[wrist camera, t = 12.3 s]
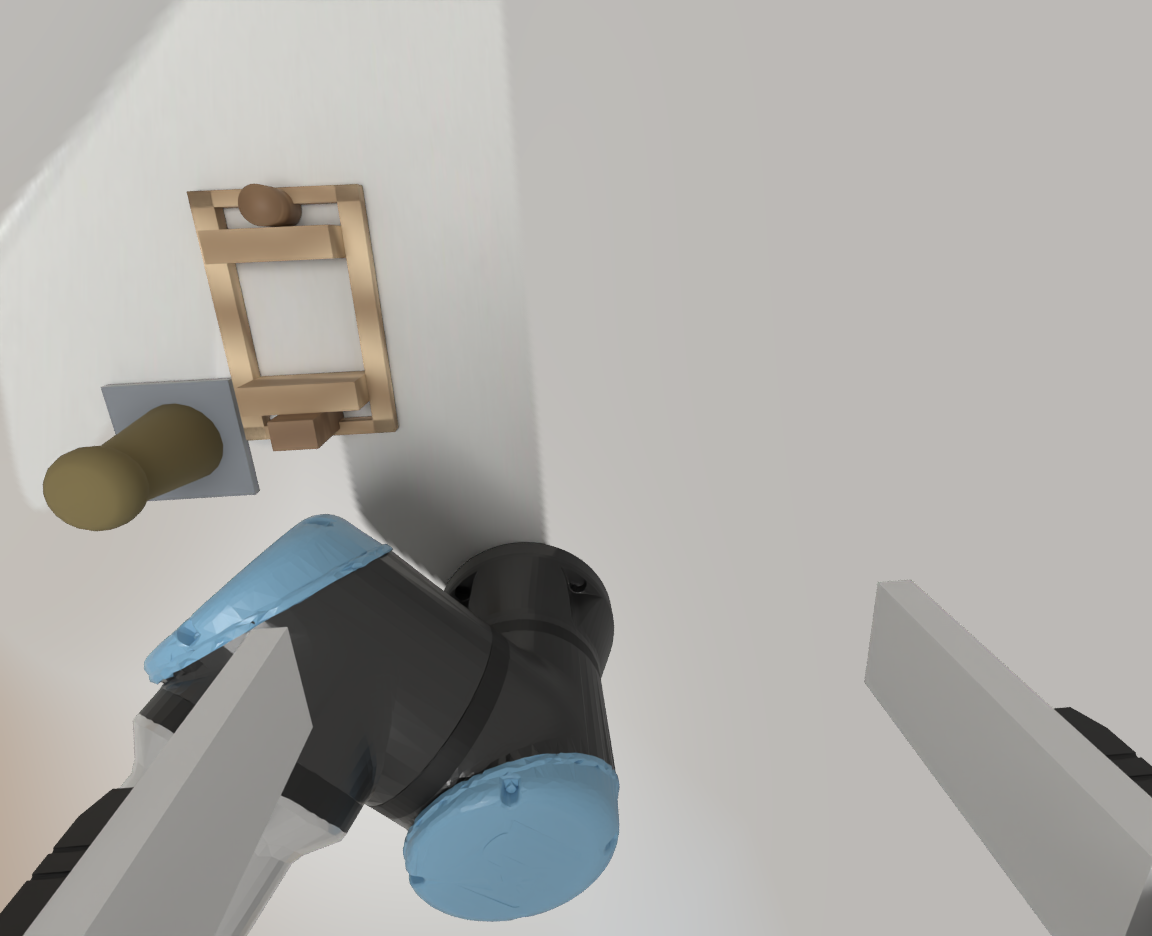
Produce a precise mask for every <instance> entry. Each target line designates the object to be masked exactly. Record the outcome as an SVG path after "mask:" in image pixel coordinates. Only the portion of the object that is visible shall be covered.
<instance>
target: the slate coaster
mask: <svg viewBox="0 0 1152 936" xmlns="http://www.w3.org/2000/svg"><path fill="white" fill-rule="evenodd" d="M101 390H102V393H103V396H104V399H105V402H106V405H107V409H108V412H109V415H110V418H111V421H112V424H113V428H114V431H115V434H116V435H117V434H118V433H119V432H121V431H122V430H124V429H125V428H126V427H128V426H129V425H130V424H132V423H133V422H135V421H136V420H137V419H139V418H140V417H142V416H143V415H144V414H146V413H147V412H149V411H150V410H152V409H154V408H156V407H158V406H160V405H164V404H174V403H176V404H181V405H186V406H190V407H192V408H194V409H196V410H198V411H200V412H202V413H203V414H204V415H205V416H206V417H207V418H209V419H210V420H211V421H212V422H213V424H214V425H215V427H216V428H217V430H218V431H219V433H220V436H221V439H222V442H223V457H222V459H221V461H220V464H219V466H218V467H217V468H216V469H215V470H214V471H213V472H212V473H211V474H210V475H208V476H205V477H203V478H201V479H198V480H196V481H194V482H191V483H189V484H186V485H184V486H182V487H179V488H177V489H174V490H172V491H170V492H167V493H165V494H162V495H160V496H158V497H155V498H153V499H150V500H148V501H157V500H175V499H191V498H206V497H222V496H240V495H255V494H256V493H258V492H259V491H260V489H259V485H258V481H257V477H256V472H255V468H254V464H253V460H252V456H251V452H250V447H249V443H248V440H246V437H245V432H244V428H243V424H242V420H241V416H240V412H239V407H238V403H237V399H236V395H235V391H234V387H233V382H232V378H223V379H205V380H187V381H168V382H150V383H132V384H113V385H106V386H103V387H101Z"/></svg>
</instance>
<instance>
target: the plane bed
mask: <svg viewBox="0 0 1152 936" xmlns="http://www.w3.org/2000/svg"><path fill="white" fill-rule="evenodd" d="M187 195H188V199H189V203H190V208H191V212H192V216H193V220H194V224H195V228H196V233H197V237H198V241H199V245H200V249H201V253H202V258H203V262H204V266H205V270H206V274H207V278H208V283H209V287H210V291H211V295H212V299H213V303H214V308H215V312H216V316H217V320H218V324H219V328H220V333H221V337H222V341H223V345H224V349H225V353H226V358H227V362H228V366H229V370H230V374H231V378H232V382H233V387H234V391H235V395H236V399H237V403H238V407H239V412H240V416H241V420H242V424H243V428H244V432H245V437H246V440H264V439H271V444H272V448H273V451H286V450H303V449H318V448H320V447H321V446H322V445H323V444H324V443H325V442H326V441H327V440H328V439H329V438H330V437H332V436H333V435H350V434H367V433H384V432H395V431H396V430H397V429H398V421H397V414H396V407H395V401H394V394H393V387H392V381H391V374H390V367H389V361H388V354H387V347H386V341H385V334H384V327H383V321H382V314H381V307H380V301H379V294H378V287H377V280H376V274H375V267H374V260H373V254H372V247H371V240H370V234H369V227H368V220H367V214H366V207H365V200H364V194H363V187H362V186H361V185H358V184H349V185H326V186H303V187H280V188H274V187H269V186H264V185H260V184H250V185H247V186H245V187H244V188H243V189H234V190H211V191H188V192H187ZM328 203H337V205H338V211H339V217H340V223H341V226H336V225H311V226H294V225H296V224H297V223H298V222H299V220H300V218H301V214H302V209H301V205H305V204H328ZM238 207H239V210H240V212H241V214H242V215H243V217H244V218H245V219H246V220H247V221H249V222H250V223H252V224H254V225H257V226H269V227H267V228H245V229H227V225H226V220H225V216H224V212H223V208H238ZM330 258H346V260H347V266H348V272H349V278H350V284H351V290H352V296H353V302H354V308H355V314H356V321H357V327H358V333H359V339H360V345H361V351H362V357H363V363H364V369H365V371H352V372H334V373H315V374H297V375H279V376H260V372H259V368H258V364H257V359H256V355H255V350H254V346H253V341H252V337H251V332H250V328H249V323H248V319H247V314H246V310H245V305H244V301H243V296H242V292H241V288H240V283H239V279H238V274H237V270H236V265H235V263H246V262H267V261H288V260H309V259H330ZM369 401H370V406H371V412H372V416H368V417H350V418H344V416H343V411H353V410H360V409H361V408H362V407H363V406H364V405H365V404H366V403H368V402H369ZM269 415H278V416H276V417H275V418H273V419H271V420H270V417H269Z"/></svg>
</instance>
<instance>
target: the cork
mask: <svg viewBox="0 0 1152 936" xmlns="http://www.w3.org/2000/svg"><path fill="white" fill-rule="evenodd" d="M222 457H223V442H222V439H221V436H220V433H219V431H218V430H217V428H216V427H215V425H214V424H213V422H212V421H211V420H210V419H209V418H207V417H206V416H205V415H204V414H203V413H202V412H200V411H198V410H196V409H194V408H192V407H190V406H186V405H181V404H176V403H174V404H164V405H160V406H158V407H156V408H154V409H152V410H150V411H149V412H147V413H146V414H144V415H143V416H142V417H140V418H139V419H137V420H136V421H135V422H133V423H132V424H130V425H129V426H128V427H126V428H125V429H124V430H122V431H121V432H119V433H118V434H117V435H115V436H114V437H112V438H111V439H110V440H108V441H107V442H105V443H104V444H103V445H101V446H92V447H82V448H78V449H75V450H73V451H71V452H68V453H66V454H64V455H62V456H60V457H59V458H58V459H57V460H56V461H55V462H54V463H53V464H52V465H51V466H50V467H49V468H48V470H47V473H46V475H45V478H44V482H43V494H44V497H45V500H46V502H47V504H48V506H49V508H50V509H51V510H52V511H53V513H54V514H55V515H56V516H57V517H59V518H60V519H62V520H63V521H64V522H65V523H67V524H69V525H72V526H74V527H76V528H79V529H85V530H91V531H103V530H111V529H114V528H117V527H120V526H122V525H124V524H126V523H128V522H130V521H131V520H132V519H134V518H135V517H136V516H137V515H138V514H139V513H140V512H141V511H142V509H143V508H144V506H145V504H146V502H147V501H148V500H150V499H153V498H155V497H158V496H160V495H162V494H165V493H167V492H170V491H172V490H174V489H177V488H179V487H182V486H184V485H186V484H189V483H191V482H194V481H196V480H198V479H201V478H203V477H205V476H208V475H210V474H211V473H212V472H213V471H214V470H215V469H216V468H217V467H218V466H219V464H220V461H221V459H222Z"/></svg>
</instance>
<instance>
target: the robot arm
mask: <svg viewBox="0 0 1152 936" xmlns="http://www.w3.org/2000/svg"><path fill="white" fill-rule="evenodd" d="M392 550H393V548H391V547H390V546H389V545H387V544H381V543H379V542H378V541H376V540H375V539H373V538H372V537H370V536H368V535H367V534H365V533H364V532H362V531H361V530H359V529H358V528H356V527H355V526H353V525H352V524H351V523H349V522H348V521H346V520H345V519H343V518H340V517H338V516H335V515H330V514H321V515H315V516H311V517H309V518H307V519H305V520H303V521H301V522H300V523H298V524H297V525H296V526H294V527H293V528H292V529H290V530H289V531H288V532H287V533H286V534H284V535H283V536H282V537H280V538H279V539H278V540H277V541H276V542H275V543H273V544H272V545H271V546H270V547H268V548H267V549H266V550H265V551H264V552H262V553H261V554H260V555H259V556H258V557H257V558H255V559H254V560H253V561H252V562H251V563H250V564H248V565H247V566H246V567H245V568H244V569H243V570H242V571H240V572H239V573H238V574H237V575H236V576H235V577H234V578H232V579H231V580H230V581H229V582H228V583H227V584H226V585H225V586H223V587H222V588H221V589H220V590H219V591H218V592H217V593H216V594H214V595H213V596H212V597H211V598H210V599H209V600H208V601H206V602H205V603H204V604H203V605H202V606H201V607H200V608H199V609H198V610H197V611H196V612H195V613H193V615H192V616H191V617H190V618H189V619H187V620H186V621H185V622H184V623H183V624H182V625H181V626H180V627H179V628H178V629H177V630H176V631H174V632H173V633H172V634H171V635H170V636H168V637H167V638H166V639H165V640H164V641H163V642H162V643H161V644H160V645H158V646H157V647H156V648H155V649H154V650H153V651H152V652H151V653H150V654H149V656H148V657H147V658H146V660H145V662H144V670H145V671H146V672H147V674H148V675H149V680H150V682H153V683H156V684H158V683H160V682H163V683H164V684H163V685H162V687H161V689H160V690H159V691H158V692H157V693H156V694H155V696H154V697H153V698H152V699H151V700H150V702H148V704H147V705H146V706H145V707H144V708H143V709H142V710H141V712H140V713H139V714H138V715H137V716H136V717H135V719H134V720H133V730H134V753H135V760H134V765H133V769H132V773H131V775H130V776H129V777H128V778H127V779H126V781H125V782H124V783H123V784H122V785H121V787H120V788H118V789H112V790H111V791H109V792H108V793H107V794H106V795H104V796H103V797H102V798H101V799H100V800H98V801H97V802H96V803H95V804H93V805H92V806H91V807H90V808H88V809H87V810H86V811H85V812H84V813H82V814H81V815H80V816H79V817H78V818H77V819H76V820H75V822H74V823H73V824H72V825H71V827H70V828H69V829H68V830H67V832H66V833H65V834H64V835H63V837H62V838H61V839H60V840H59V841H58V843H57V844H56V845H55V846H54V848H53V849H54V850H53V853H52V854H48V855H47V856H46V858H45V859H44V860H43V861H42V862H41V864H40V865H39V866H38V867H37V869H36V870H35V871H34V872H33V874H32V879H31V880H30V881H26V882H25V884H24V885H23V886H22V887H21V889H20V890H19V891H18V893H16V895H15V896H14V897H13V898H12V900H11V901H10V902H9V903H8V905H7V906H6V907H5V908H4V910H3V911H2V912H1V913H0V936H247V935H248V933H249V932H250V930H251V928H252V927H253V925H254V924H255V922H256V920H257V919H258V917H259V916H260V914H261V912H262V911H263V909H264V907H265V906H266V904H267V903H268V901H269V900H270V898H271V896H272V894H273V893H274V892H275V890H276V888H277V887H278V885H279V884H280V882H281V880H282V879H283V877H284V876H285V874H286V872H287V871H288V869H289V867H290V866H291V864H292V863H293V862H295V861H296V860H297V859H299V858H300V857H301V856H303V855H305V854H308V853H310V852H313V851H316V850H318V849H321V848H324V847H326V846H329V845H331V844H334V843H337V842H339V841H341V840H342V839H343V838H344V836H345V835H346V833H347V832H348V830H349V829H350V827H351V825H352V824H353V822H354V820H355V819H356V817H357V815H358V814H359V812H360V810H361V809H362V807H363V805H364V804H366V805H367V806H369V807H371V808H373V809H375V810H376V811H378V812H379V813H381V814H383V815H385V816H386V817H388V818H389V819H391V820H392V821H394V822H396V823H397V824H399V825H401V826H402V827H404V828H406V829H407V830H408V833H407V836H406V838H405V842H404V847H403V855H404V859H405V865H406V870H407V871H408V873H409V881H410V884H411V886H412V888H413V889H414V891H415V892H416V893H417V895H418V896H419V897H420V898H421V899H423V900H424V901H425V902H426V903H428V904H429V905H430V906H432V907H433V908H435V909H437V910H439V911H441V912H443V913H446V914H448V915H451V916H455V917H458V918H462V919H467V920H474V921H492V922H493V921H509V920H513V919H517V918H521V917H529V916H534V915H537V914H541V913H544V912H547V911H549V910H551V909H554V908H556V907H558V906H560V905H562V904H564V903H566V902H568V901H570V900H571V899H573V898H574V897H576V896H577V895H579V894H580V893H582V892H583V891H584V890H586V889H587V888H588V887H589V886H590V885H591V884H592V883H593V882H594V881H595V880H596V879H597V878H598V877H599V876H600V875H601V873H602V872H603V871H604V870H605V868H606V867H607V865H608V863H609V862H610V859H611V858H612V856H613V853H614V851H615V848H616V845H617V840H618V835H619V814H618V800H617V799H618V792H619V780H618V776H617V774H616V772H615V766H614V759H613V754H612V747H611V740H610V734H609V729H608V722H607V715H606V709H605V703H604V697H603V691H602V684H601V677H602V674H603V671H604V668H605V666H606V663H607V660H608V657H609V654H610V651H611V647H612V643H613V636H614V620H613V614H612V609H611V604H610V600H609V596H608V593H607V591H606V589H605V587H604V585H603V583H602V581H601V580H600V578H599V577H598V576H597V574H596V573H595V572H594V571H593V570H592V569H591V568H590V567H589V566H588V565H587V564H586V563H585V562H583V561H582V560H580V559H579V558H578V557H576V556H574V555H573V554H571V553H569V552H567V551H565V550H562V549H559V548H556V547H553V546H549V545H545V544H539V543H512V544H506V545H502V546H498V547H495V548H492V549H489V550H487V551H485V552H482V553H480V554H479V555H477V556H475V557H473V558H472V559H470V560H469V561H468V562H466V563H465V564H464V565H463V566H462V567H461V568H460V569H459V570H458V571H457V572H456V573H455V574H454V575H453V577H452V578H451V579H450V581H449V582H448V584H447V586H446V588H445V590H444V591H443V590H442V589H440V588H439V587H438V586H436V585H435V584H434V583H432V582H431V581H430V580H429V579H427V578H426V577H425V576H423V575H422V574H421V573H420V572H418V571H417V570H416V569H414V568H413V567H412V566H411V565H409V564H408V563H407V562H405V561H404V560H403V559H401V558H400V557H399V556H398V555H396V554H395V553H394V552H392ZM865 684H866V685H867V687H868V688H869V689H870V691H871V692H872V693H873V695H874V696H875V697H876V699H877V700H878V701H879V703H880V704H881V705H882V707H883V708H884V709H885V711H886V712H887V713H888V715H889V716H890V717H891V719H892V720H893V722H894V723H895V724H896V726H897V727H898V728H899V730H900V731H901V733H902V734H903V735H904V737H905V738H906V739H907V741H908V742H909V743H910V745H911V746H912V747H913V749H914V750H915V751H916V753H917V754H918V755H919V757H920V758H921V759H922V761H923V762H924V764H925V765H926V766H927V768H928V769H929V770H930V772H931V773H932V774H933V776H934V777H935V778H936V780H937V781H938V783H939V784H940V785H941V787H942V788H943V789H944V791H945V792H946V793H947V795H948V796H949V797H950V799H951V800H952V801H953V803H954V804H955V806H956V807H957V808H958V810H959V811H960V812H961V814H962V815H963V816H964V818H965V819H966V820H967V822H968V823H969V824H970V826H971V827H972V829H973V830H974V831H975V833H976V834H977V835H978V836H979V838H980V839H981V841H982V842H983V843H984V845H985V846H986V848H987V849H988V850H989V852H990V853H991V854H992V856H993V857H994V858H995V859H996V861H997V862H998V864H999V865H1000V866H1001V868H1002V869H1003V870H1004V872H1005V873H1006V874H1007V876H1008V877H1009V878H1010V880H1011V881H1012V883H1013V884H1014V885H1015V887H1016V888H1017V889H1018V891H1019V892H1020V893H1021V895H1022V896H1023V897H1024V899H1025V900H1026V901H1027V903H1028V904H1029V905H1030V907H1031V908H1032V910H1033V911H1034V912H1035V914H1036V915H1037V916H1038V918H1039V919H1040V920H1041V922H1042V923H1043V925H1044V926H1045V927H1046V929H1047V930H1048V931H1049V933H1050V934H1051V935H1052V936H1152V766H1151V765H1150V764H1148V763H1147V762H1146V761H1145V760H1144V759H1143V758H1138V757H1137V756H1136V752H1134V751H1133V750H1132V749H1131V748H1130V747H1128V746H1127V745H1126V744H1125V743H1124V742H1123V741H1122V740H1120V739H1119V738H1118V737H1117V736H1116V735H1115V734H1113V733H1112V732H1111V731H1110V730H1109V729H1108V728H1106V727H1104V726H1103V725H1101V724H1099V723H1097V722H1096V721H1094V720H1092V719H1090V718H1089V717H1087V716H1085V715H1083V714H1082V713H1080V712H1078V711H1076V710H1074V709H1072V708H1071V707H1067V708H1055V709H1053V708H1052V707H1051V706H1050V705H1049V704H1048V703H1046V702H1045V701H1044V700H1043V699H1042V698H1041V697H1040V696H1039V695H1038V694H1037V693H1036V692H1034V691H1033V690H1032V689H1031V688H1030V687H1029V686H1028V685H1027V684H1026V683H1025V682H1023V681H1022V680H1021V679H1020V678H1019V677H1018V676H1017V675H1016V674H1015V673H1013V672H1012V671H1011V670H1010V669H1009V668H1008V667H1007V666H1006V665H1004V663H1002V662H1001V661H1000V660H999V659H998V658H997V657H996V656H995V655H994V654H992V653H991V652H990V651H989V650H988V649H987V648H986V647H985V646H984V645H982V644H981V643H980V642H979V641H978V640H977V639H976V638H975V637H974V636H972V634H970V633H969V632H968V631H967V630H966V629H965V628H964V627H963V626H962V625H960V624H959V623H958V622H957V621H956V620H955V619H954V618H953V617H951V615H949V614H948V613H947V612H946V611H945V610H944V609H942V607H941V606H939V605H938V604H937V603H936V602H935V601H934V600H933V599H932V598H931V597H929V596H928V595H927V594H926V593H925V592H924V591H923V590H922V589H921V588H920V587H919V586H917V585H916V584H915V583H914V582H913V581H912V580H901V581H888V582H878V584H877V592H876V599H875V607H874V614H873V622H872V629H871V636H870V644H869V652H868V659H867V666H866V674H865Z"/></svg>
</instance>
